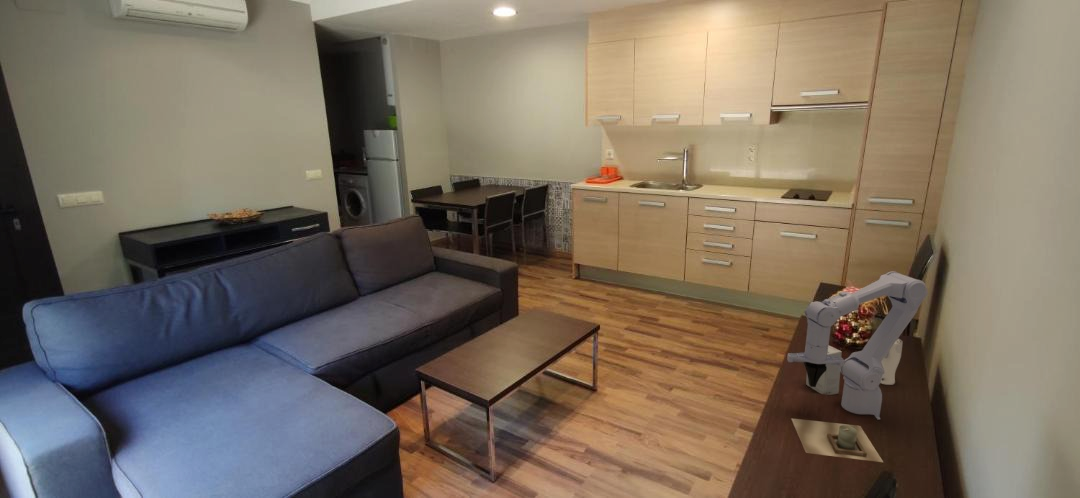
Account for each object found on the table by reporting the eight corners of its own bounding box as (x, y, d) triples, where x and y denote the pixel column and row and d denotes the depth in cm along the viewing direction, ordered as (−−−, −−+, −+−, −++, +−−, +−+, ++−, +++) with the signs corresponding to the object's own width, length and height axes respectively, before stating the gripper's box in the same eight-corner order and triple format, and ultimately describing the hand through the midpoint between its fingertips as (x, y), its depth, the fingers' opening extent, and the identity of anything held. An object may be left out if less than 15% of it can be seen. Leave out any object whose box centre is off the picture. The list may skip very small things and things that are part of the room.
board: (859, 429, 139) (860, 422, 139) (883, 466, 124) (884, 458, 124) (790, 421, 144) (791, 415, 143) (805, 456, 129) (806, 449, 128)
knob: (845, 440, 133) (848, 423, 132) (858, 449, 129) (861, 432, 128) (833, 442, 132) (835, 425, 131) (845, 452, 128) (848, 434, 127)
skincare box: (838, 394, 158) (844, 351, 154) (822, 396, 156) (828, 354, 153) (818, 381, 166) (823, 341, 162) (803, 383, 164) (808, 343, 161)
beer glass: (874, 383, 163) (880, 342, 160) (869, 374, 170) (875, 334, 166) (899, 387, 161) (906, 345, 157) (893, 377, 167) (900, 336, 163)
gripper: (840, 339, 143) (834, 380, 147) (786, 335, 147) (782, 376, 150) (848, 349, 137) (842, 393, 140) (792, 345, 140) (787, 387, 143)
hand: (812, 385), depth 145 cm, fingers closed
